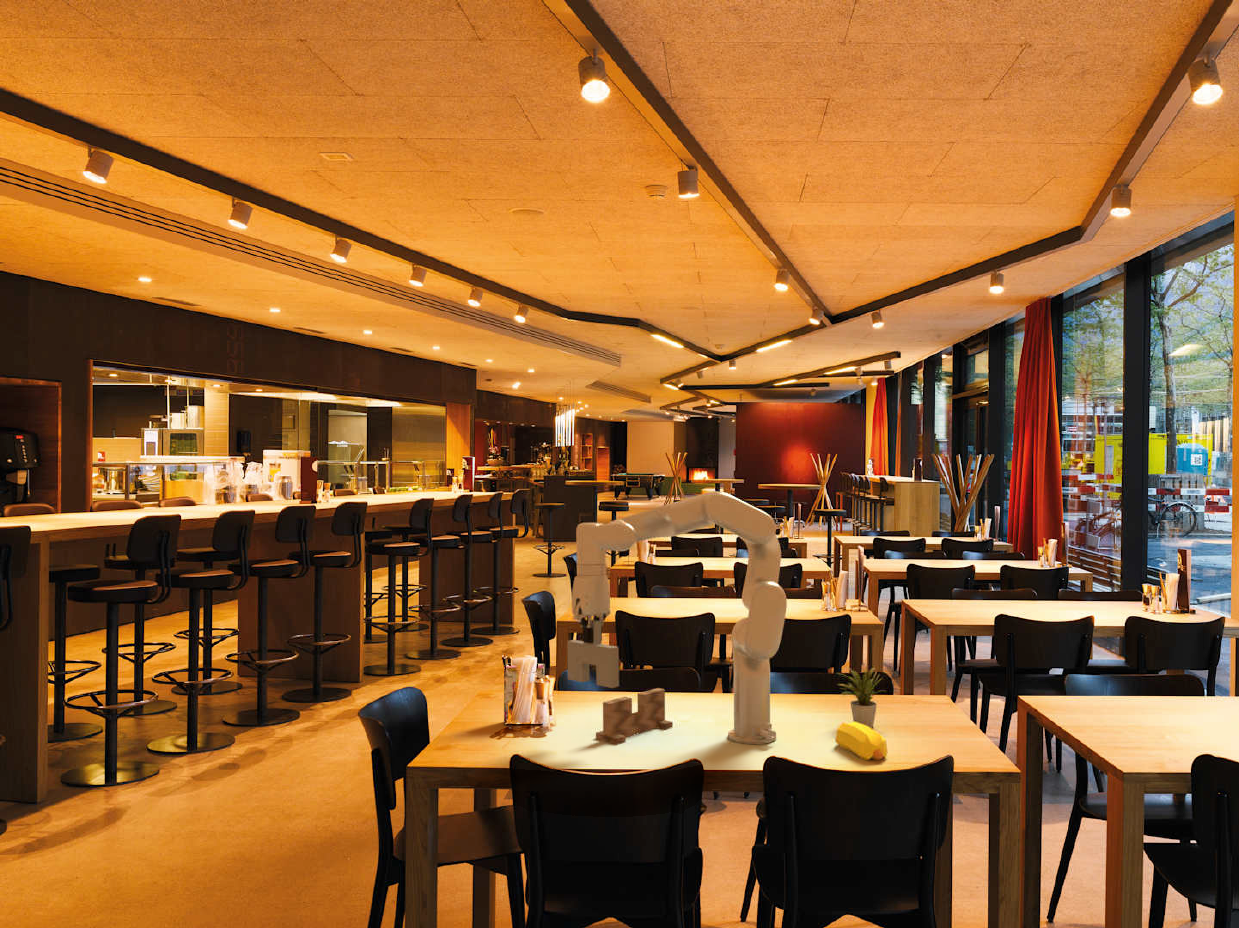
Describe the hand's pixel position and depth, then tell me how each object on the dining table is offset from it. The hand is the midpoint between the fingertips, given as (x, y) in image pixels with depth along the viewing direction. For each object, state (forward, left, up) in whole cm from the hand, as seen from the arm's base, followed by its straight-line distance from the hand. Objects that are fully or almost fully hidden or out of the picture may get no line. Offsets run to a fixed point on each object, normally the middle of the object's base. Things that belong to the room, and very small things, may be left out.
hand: (592, 641), depth 246 cm
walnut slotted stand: (+5, -15, -27) cm, 31 cm away
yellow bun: (-37, -57, -27) cm, 73 cm away
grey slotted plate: (0, 0, -11) cm, 11 cm away
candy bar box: (+28, +8, -27) cm, 40 cm away
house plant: (-17, -75, -27) cm, 81 cm away
